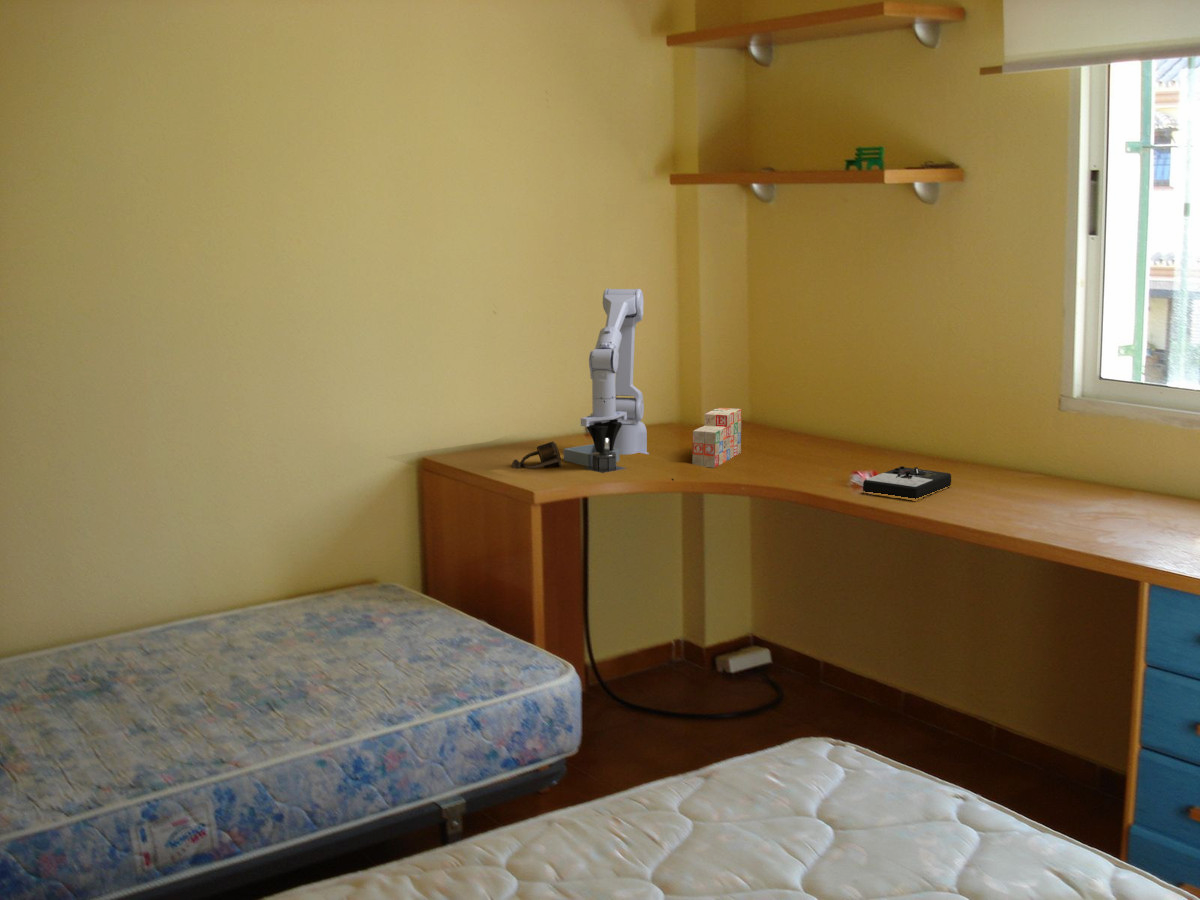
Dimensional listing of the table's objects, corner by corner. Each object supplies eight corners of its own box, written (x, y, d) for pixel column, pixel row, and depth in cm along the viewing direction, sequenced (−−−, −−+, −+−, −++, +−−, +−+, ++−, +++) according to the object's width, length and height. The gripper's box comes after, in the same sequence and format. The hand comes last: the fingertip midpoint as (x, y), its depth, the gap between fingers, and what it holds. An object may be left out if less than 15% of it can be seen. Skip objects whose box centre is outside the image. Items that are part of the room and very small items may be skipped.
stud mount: (606, 467, 312) (606, 453, 312) (627, 472, 306) (627, 458, 306) (582, 471, 307) (581, 457, 307) (602, 476, 301) (602, 462, 301)
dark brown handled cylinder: (560, 453, 303) (567, 437, 312) (509, 447, 305) (518, 432, 314) (559, 480, 306) (566, 463, 315) (508, 474, 308) (517, 457, 317)
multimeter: (951, 488, 288) (952, 467, 287) (915, 503, 273) (916, 481, 272) (899, 481, 296) (900, 460, 295) (861, 495, 281) (862, 474, 280)
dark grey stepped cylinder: (606, 464, 311) (605, 434, 309) (620, 468, 306) (620, 437, 305) (588, 467, 307) (587, 437, 306) (602, 471, 303) (602, 440, 301)
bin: (594, 458, 323) (594, 443, 323) (619, 464, 316) (619, 449, 315) (563, 464, 317) (563, 448, 316) (588, 470, 309) (588, 454, 309)
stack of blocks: (715, 468, 311) (715, 420, 308) (691, 466, 313) (692, 418, 311) (741, 453, 330) (741, 408, 328) (718, 451, 332) (719, 406, 330)
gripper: (612, 392, 311) (612, 445, 314) (571, 399, 301) (572, 453, 304) (633, 395, 306) (633, 448, 309) (592, 401, 296) (592, 457, 299)
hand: (604, 451), depth 306 cm, fingers closed on dark grey stepped cylinder, 3 cm apart
